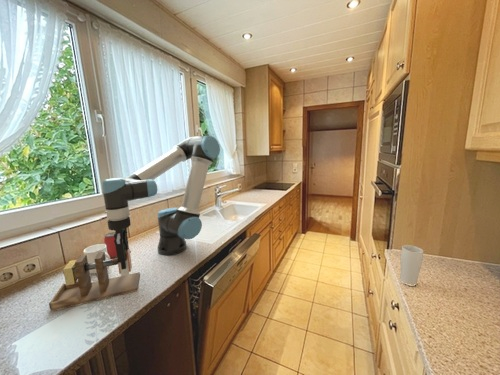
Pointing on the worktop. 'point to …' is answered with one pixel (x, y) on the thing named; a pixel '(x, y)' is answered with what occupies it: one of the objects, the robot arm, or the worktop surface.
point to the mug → (95, 254)
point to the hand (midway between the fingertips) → (126, 271)
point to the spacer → (70, 273)
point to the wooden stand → (93, 285)
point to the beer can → (110, 244)
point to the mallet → (109, 263)
